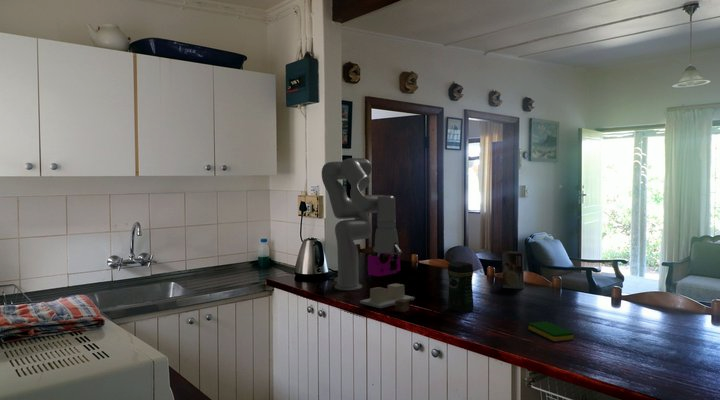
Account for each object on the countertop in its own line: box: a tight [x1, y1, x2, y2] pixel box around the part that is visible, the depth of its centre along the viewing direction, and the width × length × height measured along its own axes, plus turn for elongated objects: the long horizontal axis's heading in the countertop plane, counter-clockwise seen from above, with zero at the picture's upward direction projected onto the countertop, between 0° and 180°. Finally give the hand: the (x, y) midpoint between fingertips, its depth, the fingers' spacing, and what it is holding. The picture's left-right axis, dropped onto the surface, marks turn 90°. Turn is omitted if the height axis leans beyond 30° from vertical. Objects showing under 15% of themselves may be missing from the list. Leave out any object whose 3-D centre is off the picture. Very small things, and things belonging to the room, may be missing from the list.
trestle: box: [359, 283, 416, 309], centre depth 214 cm, size 12×20×6 cm, turn 132°
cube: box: [394, 299, 410, 313], centre depth 200 cm, size 4×4×4 cm
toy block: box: [367, 255, 401, 277], centre depth 213 cm, size 15×6×8 cm, turn 131°
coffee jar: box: [447, 260, 474, 313], centre depth 200 cm, size 10×8×19 cm
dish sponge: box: [528, 321, 574, 342], centre depth 168 cm, size 7×14×2 cm, turn 16°
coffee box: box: [501, 250, 525, 290], centre depth 237 cm, size 9×6×16 cm
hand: (387, 268), depth 214 cm, fingers closed on toy block, 6 cm apart
